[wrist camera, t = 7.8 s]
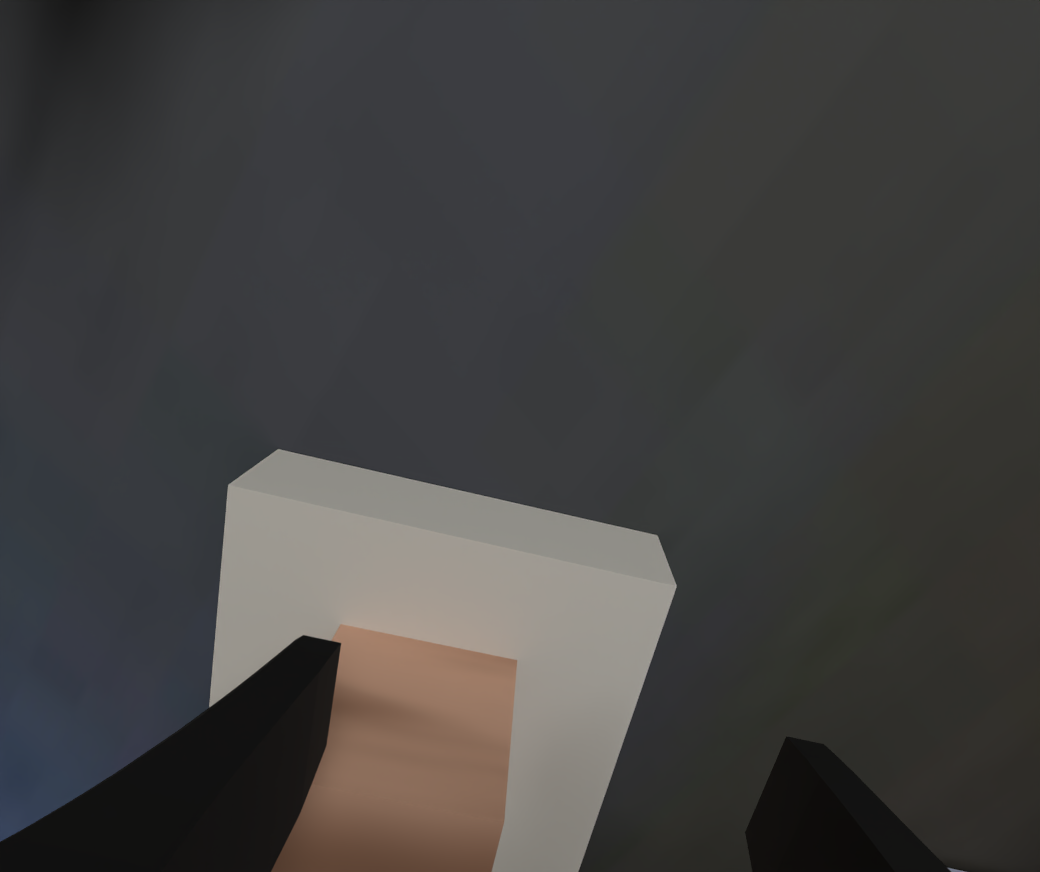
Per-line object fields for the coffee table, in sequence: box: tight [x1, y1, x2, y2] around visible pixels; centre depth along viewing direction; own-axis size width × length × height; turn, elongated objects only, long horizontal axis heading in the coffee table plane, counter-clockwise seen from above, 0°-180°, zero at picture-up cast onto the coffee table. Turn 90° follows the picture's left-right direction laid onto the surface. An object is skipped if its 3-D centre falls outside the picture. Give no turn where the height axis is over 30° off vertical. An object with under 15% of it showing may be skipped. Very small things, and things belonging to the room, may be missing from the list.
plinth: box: [209, 449, 677, 872], centre depth 19 cm, size 12×12×3 cm
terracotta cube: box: [271, 624, 517, 872], centre depth 15 cm, size 5×5×5 cm
